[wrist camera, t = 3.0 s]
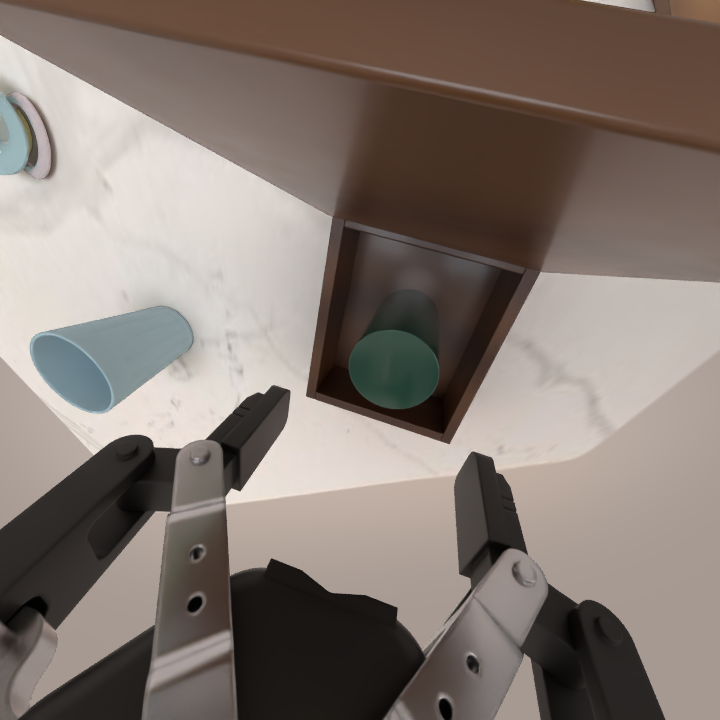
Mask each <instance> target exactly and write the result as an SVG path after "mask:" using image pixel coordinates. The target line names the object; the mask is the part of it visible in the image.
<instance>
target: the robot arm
mask: <svg viewBox="0 0 720 720" xmlns="http://www.w3.org/2000/svg"><path fill="white" fill-rule="evenodd" d="M289 402H290V390H287V389H284V388H281V387H278V386H275V385H273V386H271V387H270V389H269V390H268V391H267V392H266V393H265V394H261V393H256V394H254V395H252V396H249V397H247V398H246V399H245V400H244V401H243V402H242V403H241V404H240V405H239V407H237V408H236V409H235V410H234V411H233V413H232V414H230V415H229V416H228V417H227V418H226V419H225V420H224V421H223V422H222V423H221V424H220V425H219V426H218V427H217V428H216V430H215V431H214V432H213V433H212V434H211V435H210V436H209V437H208V438H206V439H205V440H198V441H195V442H192V443H190V444H188V445H186V446H185V447H183V448H181V449H174V448H156V447H154V445H153V442H152V440H151V439H150V438H148V437H146V436H143V435H129V436H125V437H121V438H119V439H116V440H114V441H113V442H111V443H109V444H108V445H107V446H105V447H104V448H103V449H102V450H100V451H99V452H98V453H97V454H95V455H94V456H93V457H92V458H90V459H89V460H88V461H86V462H85V463H84V464H83V465H82V466H80V467H79V468H78V469H76V470H75V471H74V472H73V473H72V474H70V475H69V476H68V477H66V478H65V479H64V480H63V481H61V482H60V483H59V484H57V485H56V486H55V487H54V488H52V489H51V490H50V491H49V492H47V493H46V494H45V495H44V496H42V497H41V498H40V499H38V500H37V501H36V502H35V503H33V504H32V505H31V506H30V507H28V508H27V509H26V510H25V511H23V512H22V513H21V514H20V515H18V516H17V517H16V518H14V519H13V520H12V521H11V522H9V523H8V524H7V525H6V526H4V527H3V528H2V529H1V530H0V720H494V718H495V716H496V714H497V712H498V710H499V708H500V706H501V704H502V702H503V700H504V698H505V696H506V694H507V692H508V689H509V687H510V685H511V683H512V681H513V679H514V677H515V675H516V673H517V671H518V669H519V667H520V665H521V662H522V660H523V655H524V653H525V654H526V655H527V656H529V657H530V658H531V663H532V669H533V674H534V681H535V687H536V693H537V699H538V706H539V712H540V717H541V720H665V718H664V715H663V713H662V710H661V708H660V705H659V703H658V700H657V699H656V695H655V693H654V691H653V688H652V686H651V683H650V681H649V678H648V676H647V674H646V671H645V669H644V666H643V664H642V661H641V659H640V656H639V654H638V652H637V649H636V647H635V644H634V642H633V640H632V637H631V636H630V634H629V632H628V631H627V629H626V628H625V626H624V625H623V624H622V622H621V621H620V620H619V619H618V618H617V617H616V616H615V615H614V614H613V613H612V612H611V611H610V610H609V609H607V608H606V607H605V606H603V605H602V604H600V603H598V602H595V601H592V600H585V601H583V602H581V603H580V604H577V603H575V602H574V601H572V600H571V599H570V598H568V597H567V596H565V595H564V594H562V593H561V592H559V591H558V590H556V589H555V588H554V587H552V586H551V585H550V584H548V583H547V580H546V578H545V575H544V574H543V571H542V570H541V568H540V567H539V566H538V564H537V563H536V562H535V561H534V560H533V559H532V558H531V557H529V556H528V553H527V550H526V545H525V542H524V538H523V534H522V530H521V526H520V523H519V519H518V515H517V513H516V507H515V503H514V502H513V500H514V499H513V496H512V492H511V488H510V486H509V484H508V483H507V482H506V480H505V478H504V477H503V475H501V474H499V473H496V470H495V466H494V461H493V459H492V458H491V457H488V456H485V455H482V454H479V453H476V452H471V453H470V455H469V456H468V458H467V460H466V461H465V463H464V465H463V466H462V468H461V470H460V471H459V473H458V475H457V477H456V480H455V486H454V492H455V493H454V494H455V511H456V526H457V542H458V543H457V544H458V560H459V574H461V575H463V576H466V577H469V578H470V579H471V588H470V589H469V590H468V592H467V593H466V594H465V596H464V597H463V598H462V599H461V601H460V602H459V603H458V605H457V606H456V607H455V609H454V610H453V611H452V613H451V614H450V615H449V617H448V618H447V619H446V620H445V622H444V623H443V624H442V626H441V627H440V628H439V630H438V631H437V632H436V633H435V635H434V636H433V637H432V638H431V639H430V640H429V642H428V643H427V644H426V645H425V647H424V648H423V649H421V647H420V646H419V644H418V643H417V641H416V640H415V638H414V637H413V636H412V635H411V633H410V632H409V631H408V630H407V629H406V628H405V627H404V626H403V625H402V624H401V623H400V622H399V621H398V620H397V607H394V606H392V605H389V604H387V603H384V602H381V601H379V600H376V599H374V598H371V597H369V596H366V595H352V594H338V593H331V592H328V591H327V590H326V589H324V588H323V587H322V586H321V585H319V584H318V583H317V582H316V581H314V580H313V579H312V578H310V577H309V576H308V575H307V574H306V573H304V572H303V571H302V570H300V569H297V568H294V567H292V566H289V565H287V564H284V563H282V562H279V561H277V560H274V559H271V560H270V562H269V564H268V566H267V568H252V569H248V570H244V571H241V572H238V573H235V574H233V575H231V576H230V573H229V554H228V536H227V518H226V501H225V497H226V495H227V494H228V492H229V491H230V490H231V488H232V489H235V490H238V491H241V490H242V488H243V487H244V485H245V484H246V482H247V481H248V479H249V478H250V477H251V475H252V474H253V472H254V471H255V469H256V468H257V466H258V465H259V463H260V462H261V461H262V459H263V458H264V456H265V455H266V453H267V452H268V450H269V449H270V447H271V446H272V445H273V443H274V442H275V440H276V439H277V437H278V436H279V434H280V433H281V431H282V430H283V428H284V426H285V424H286V421H287V418H288V411H289ZM155 511H168V512H171V513H170V514H168V516H167V520H166V527H165V536H164V546H163V555H162V565H161V574H160V583H159V593H158V602H157V611H156V621H155V625H153V626H152V627H150V628H149V629H147V630H146V631H144V632H143V633H141V634H140V635H138V636H137V637H135V638H134V639H132V640H130V641H129V642H127V643H126V644H124V645H123V646H121V647H120V648H118V649H117V650H115V651H114V652H112V653H111V654H109V655H108V656H106V657H104V658H103V659H101V660H100V661H99V662H97V663H95V664H94V665H92V666H91V667H89V668H88V669H86V670H85V671H83V672H82V673H80V674H79V675H77V676H75V677H74V678H72V679H71V680H69V681H68V682H66V683H65V684H63V685H62V686H60V687H59V688H57V689H56V690H54V691H53V692H51V693H50V694H48V695H47V696H45V697H44V698H43V699H41V700H40V701H39V702H37V703H36V704H35V705H33V706H32V707H31V708H30V700H31V697H32V694H33V691H34V689H35V687H36V685H37V683H38V681H39V679H40V678H41V676H42V675H43V673H44V672H45V670H46V669H47V667H48V666H49V664H50V662H51V660H52V658H53V656H54V654H55V652H56V648H57V642H58V637H57V633H56V631H55V630H56V629H57V628H58V626H59V625H60V624H61V623H62V622H63V620H64V619H65V618H66V617H67V616H68V615H69V613H70V612H71V611H72V610H73V608H74V607H75V606H76V605H77V604H78V603H79V601H80V600H81V599H82V598H83V597H84V596H85V594H86V593H87V592H88V590H89V589H90V588H91V587H92V586H93V585H94V584H95V582H96V581H97V580H98V579H99V578H100V576H101V575H102V574H103V573H104V572H105V571H106V569H107V568H108V567H109V566H110V565H111V563H112V562H113V561H114V560H115V559H116V557H117V556H118V555H119V554H120V553H121V552H122V550H123V549H124V548H125V547H126V546H127V544H128V543H129V542H130V541H131V540H132V538H133V537H134V536H135V535H136V534H137V532H138V531H139V530H140V529H141V528H142V526H143V525H144V524H145V523H146V522H147V520H148V519H149V518H150V517H151V516H152V515H153V513H154V512H155ZM29 708H30V709H29Z"/></svg>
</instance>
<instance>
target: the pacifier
mask: <svg viewBox="0 0 720 720" xmlns="http://www.w3.org/2000/svg"><path fill="white" fill-rule="evenodd" d="M18 106H20V107H21V108H22V110H23V111H24V112H25V113H26V115H27V117H28V118H29V120H30V122H31V125H32V127H33V129H34V132H35V135H36V139H37V144H38V160H37V163H36V165H35V166H33V165H31V164H30V162H29V161H28V158H29V153H30V152H31V150H32V136H31V132H30V129H29V126H28V124H27V122H26V120H25V118H24V117H23V115H22V114H21V113H20V111H19V110H18V109H17V107H18ZM50 167H51V148H50V143H49V138H48V135H47V132H46V129H45V126H44V124H43V122H42V120H41V117H40V115H39V114H38V112H37V110H36V109H35V107H34V106H33V104H32V103H31V102H30V101H29V100H28V99H27V98H26V97H25V96H23V95H22V94H21V93H18V92H12V93H9V94H8V95H7V96H6V98H5V97H4V95H3V94H2V93H1V92H0V175H11V174H16V173H18V172H20V171H21V170H22V169H24V170H25V171H26V172H27V173H28V174H29V175H31V176H32V177H34V178H37V179H42V178H45V177H46V176H47V175H48V173H49V170H50Z"/></svg>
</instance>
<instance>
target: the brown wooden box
mask: <svg viewBox="0 0 720 720" xmlns="http://www.w3.org/2000/svg"><path fill="white" fill-rule="evenodd" d="M539 274H540V271H536V270H532V269H529V268H525V267H521V266H517V265H514V264H510V263H506V262H502V261H498V260H495V259H491V258H487V257H483V256H479V255H476V254H472V253H468V252H464V251H460V250H457V249H453V248H449V247H445V246H442V245H438V244H434V243H430V242H426V241H423V240H419V239H415V238H411V237H407V236H404V235H400V234H396V233H392V232H388V231H385V230H381V229H377V228H373V227H370V226H366V225H362V224H358V223H354V222H351V221H347V220H343V219H339V218H335V217H333V219H332V226H331V232H330V239H329V246H328V252H327V259H326V266H325V273H324V279H323V286H322V293H321V299H320V306H319V313H318V319H317V326H316V333H315V340H314V346H313V353H312V360H311V366H310V373H309V380H308V387H307V393H306V396H307V397H310V398H313V399H316V400H319V401H322V402H325V403H328V404H331V405H334V406H337V407H340V408H343V409H346V410H349V411H352V412H355V413H358V414H361V415H364V416H367V417H370V418H373V419H376V420H379V421H382V422H385V423H388V424H391V425H394V426H397V427H400V428H403V429H406V430H409V431H412V432H415V433H418V434H421V435H424V436H427V437H430V438H433V439H436V440H439V441H441V442H444V443H447V444H450V442H451V440H452V438H453V436H454V435H455V433H456V431H457V429H458V427H459V425H460V423H461V421H462V419H463V417H464V416H465V414H466V412H467V410H468V408H469V406H470V404H471V402H472V400H473V399H474V397H475V395H476V393H477V391H478V389H479V387H480V385H481V383H482V381H483V380H484V378H485V376H486V374H487V372H488V370H489V368H490V366H491V364H492V363H493V361H494V359H495V357H496V355H497V353H498V351H499V349H500V347H501V346H502V344H503V342H504V340H505V338H506V336H507V334H508V332H509V330H510V328H511V327H512V325H513V323H514V321H515V319H516V317H517V315H518V313H519V311H520V310H521V308H522V306H523V304H524V302H525V300H526V298H527V296H528V294H529V292H530V291H531V289H532V287H533V285H534V283H535V281H536V279H537V277H538V275H539ZM405 289H409V290H416V291H419V292H421V293H423V294H425V295H426V296H428V297H429V298H430V299H431V300H432V301H433V302H434V304H435V305H436V307H437V309H438V313H439V350H440V374H439V381H438V384H437V386H436V388H435V390H434V392H433V393H432V394H431V395H430V396H429V397H428V398H427V399H426V400H425V401H423V402H422V403H420V404H418V405H416V406H413V407H410V408H405V409H390V408H385V407H381V406H379V405H376V404H374V403H372V402H370V401H369V400H367V399H366V398H365V397H364V396H362V395H361V394H360V393H359V391H358V390H357V389H356V387H355V386H354V384H353V382H352V380H351V377H350V374H349V358H350V355H351V352H352V350H353V348H354V347H355V345H356V343H357V342H358V340H359V338H360V337H361V335H362V333H363V332H364V330H365V328H366V327H367V325H368V323H369V322H370V320H371V318H372V317H373V315H374V313H375V312H376V310H377V308H378V307H379V305H380V303H381V302H382V301H383V300H384V298H386V297H387V296H388V295H390V294H391V293H393V292H396V291H399V290H405Z"/></svg>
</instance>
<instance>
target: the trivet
mask: <svg viewBox="0 0 720 720" xmlns="http://www.w3.org/2000/svg"><path fill="white" fill-rule="evenodd" d="M654 5H655V10H656V13H659V14H665V15H671V16H677V17H683V18H689V19H695V20H701V21H707V22H713V23H719V24H720V0H654Z"/></svg>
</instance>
